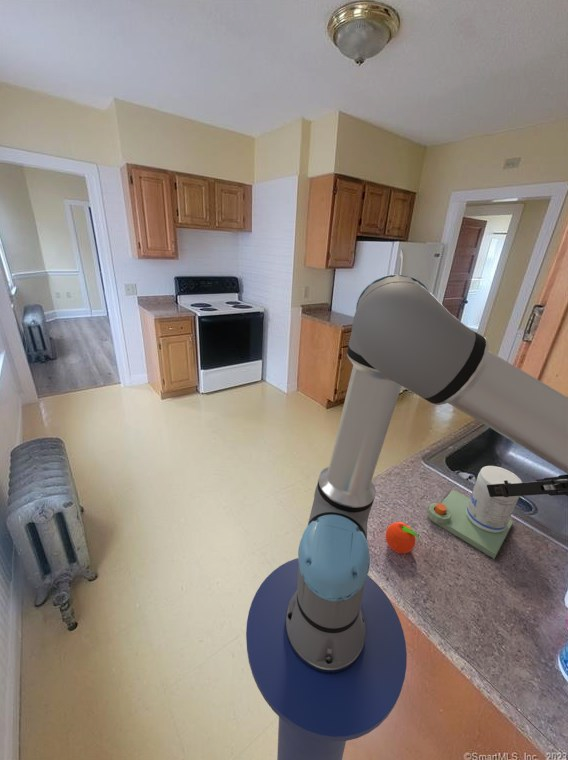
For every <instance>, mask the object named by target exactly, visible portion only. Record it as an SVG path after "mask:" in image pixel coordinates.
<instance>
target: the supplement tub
mask: <svg viewBox="0 0 568 760" xmlns="http://www.w3.org/2000/svg"><path fill="white" fill-rule="evenodd" d="M506 480H507V481H508V483H511V484H513V483H523V481H522V480H521V478H520V477H519V476H517V474H515V473H513V472H512V471H510V470H508V469H506V468H503V467H500V466H496V465H486V466H483V467H482V468H480V470H479V472H478V475H477V477H476V479H475V483H474V485H473V488H472V490H471V494H470V496H469V498H470V499H469V502H468V505H467V508H466V514H467V516H468V518H469V519H470V521H471V522H472V523H473V524H475V525H476V526H477V527H479V528H481V529H483V530H485V531H488V532H493V533H498V532H502V531H503V530H504V529H505V528H506V526H507V524H508V521H509V519H511V517H512V515H513V512H514V510H515V508H516V506H517V503H518V502H519V499H520V497H521V496H512V497H511V496H510V497H490V495H489V492H488V489H487V485H491V484H503V483H504V481H506Z"/></svg>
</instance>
